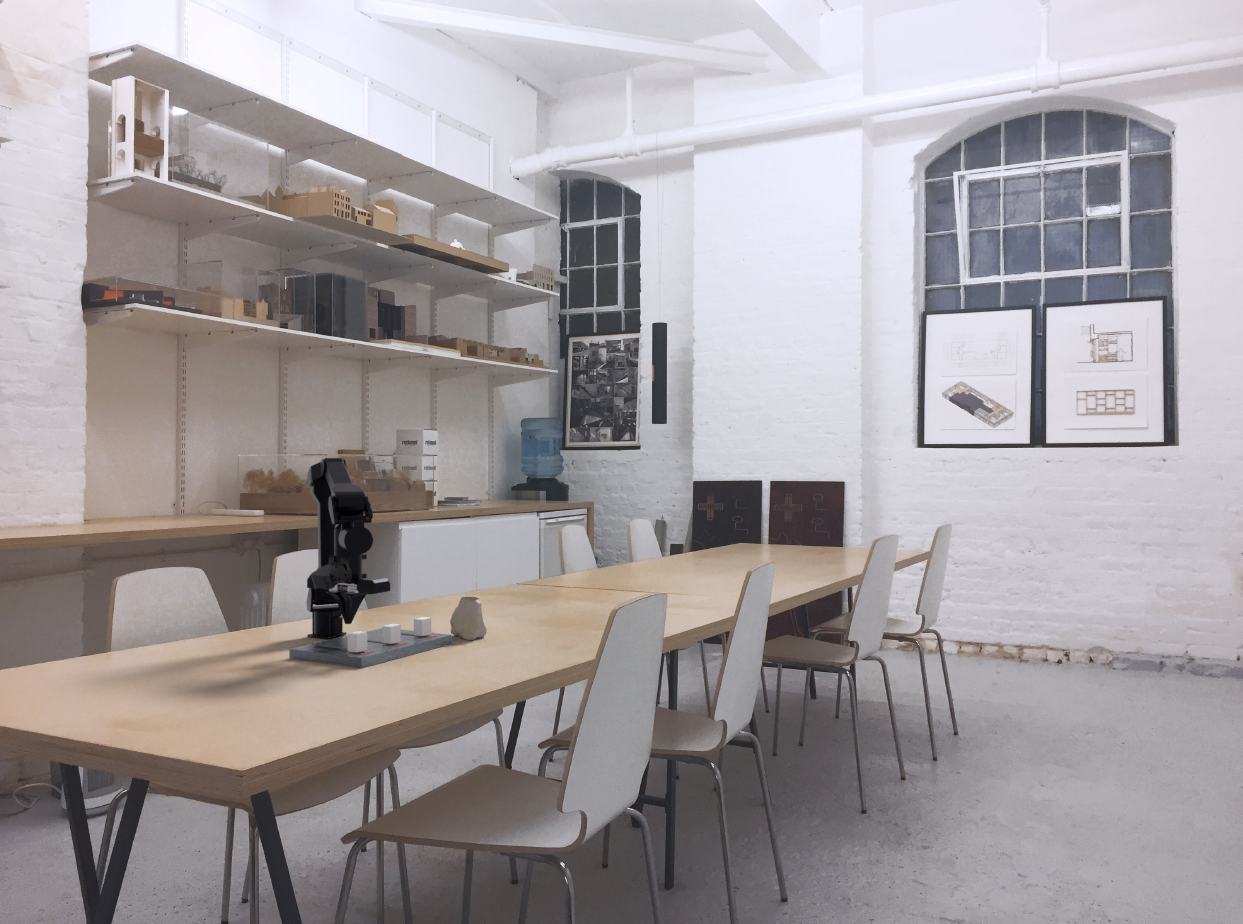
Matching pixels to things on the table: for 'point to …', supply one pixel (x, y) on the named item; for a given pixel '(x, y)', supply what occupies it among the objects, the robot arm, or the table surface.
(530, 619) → the table surface
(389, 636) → the handle mid
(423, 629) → the handle far
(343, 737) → the table surface
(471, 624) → the faceted grey rock
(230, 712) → the table surface
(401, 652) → the panel
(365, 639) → the handle
